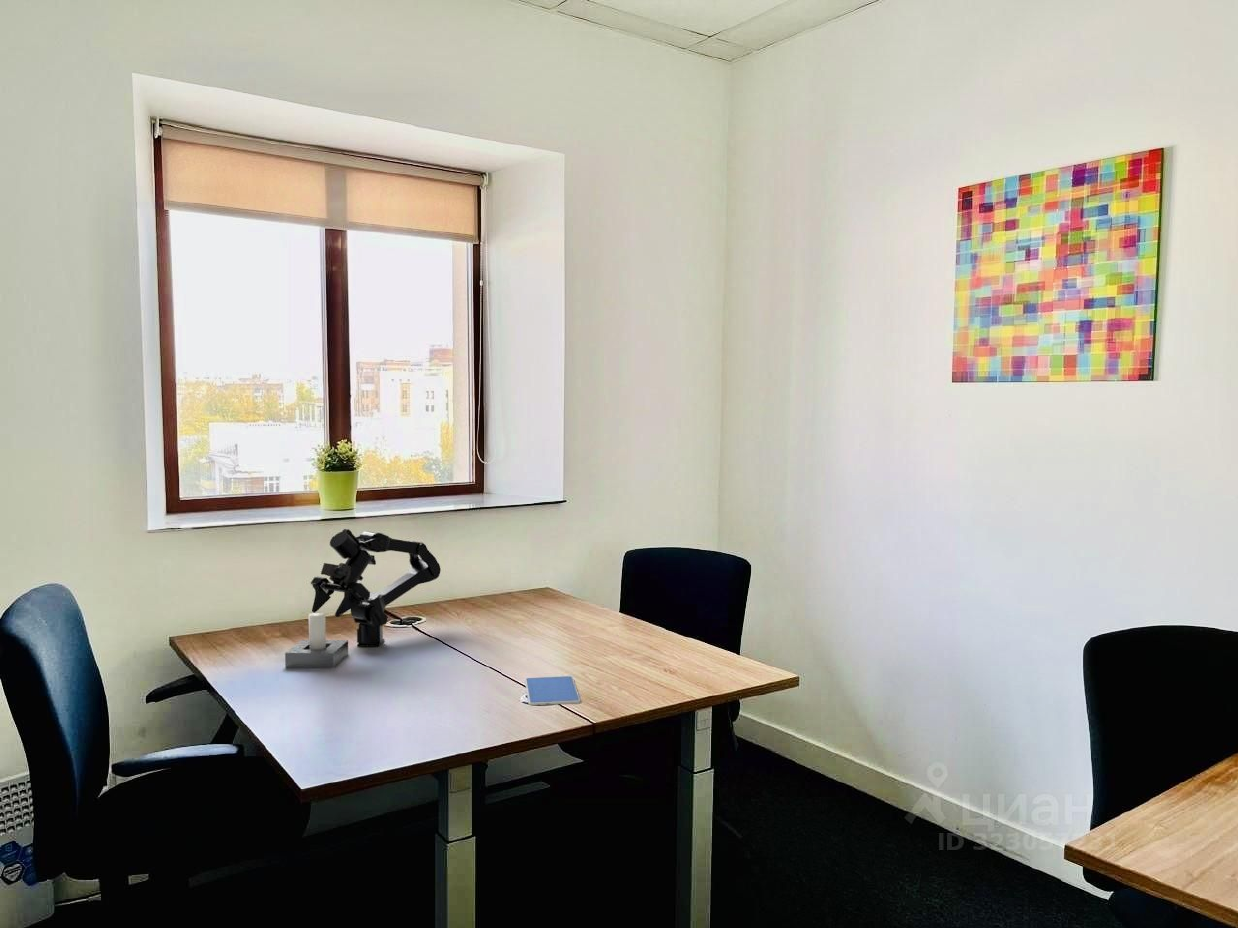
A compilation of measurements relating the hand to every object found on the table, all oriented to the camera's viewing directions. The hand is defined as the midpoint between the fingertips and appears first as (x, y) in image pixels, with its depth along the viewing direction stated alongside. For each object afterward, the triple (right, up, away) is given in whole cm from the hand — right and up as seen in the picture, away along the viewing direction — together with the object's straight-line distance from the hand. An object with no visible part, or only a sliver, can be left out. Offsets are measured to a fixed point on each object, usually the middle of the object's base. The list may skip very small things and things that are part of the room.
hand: (324, 614), depth 256 cm
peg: (-1, -13, -1) cm, 13 cm away
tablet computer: (+65, -16, -26) cm, 72 cm away
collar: (-1, -13, -1) cm, 13 cm away
